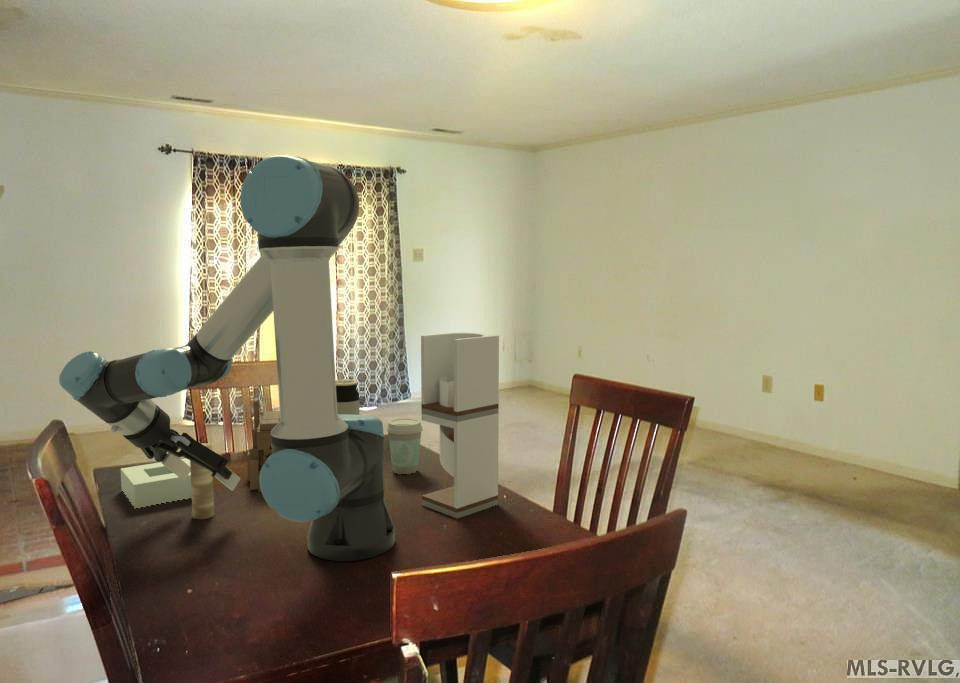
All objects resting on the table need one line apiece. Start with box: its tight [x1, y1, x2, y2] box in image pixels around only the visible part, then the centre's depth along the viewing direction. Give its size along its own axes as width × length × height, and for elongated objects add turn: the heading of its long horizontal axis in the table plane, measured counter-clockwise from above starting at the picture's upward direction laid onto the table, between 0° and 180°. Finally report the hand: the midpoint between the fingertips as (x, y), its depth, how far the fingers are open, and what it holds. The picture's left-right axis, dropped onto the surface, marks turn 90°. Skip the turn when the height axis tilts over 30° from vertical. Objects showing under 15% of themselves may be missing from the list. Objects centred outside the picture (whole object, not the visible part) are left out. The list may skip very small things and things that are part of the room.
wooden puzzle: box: [246, 397, 280, 493], centre depth 161 cm, size 22×15×19 cm, turn 13°
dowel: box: [190, 442, 215, 520], centre depth 136 cm, size 4×4×14 cm
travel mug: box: [335, 379, 360, 415], centre depth 186 cm, size 8×8×18 cm
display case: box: [420, 331, 500, 519], centre depth 141 cm, size 11×11×35 cm
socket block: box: [120, 457, 192, 510], centre depth 150 cm, size 14×14×5 cm
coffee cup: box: [386, 418, 423, 475], centre depth 166 cm, size 9×8×12 cm
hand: (211, 479), depth 138 cm, fingers open, 13 cm apart
